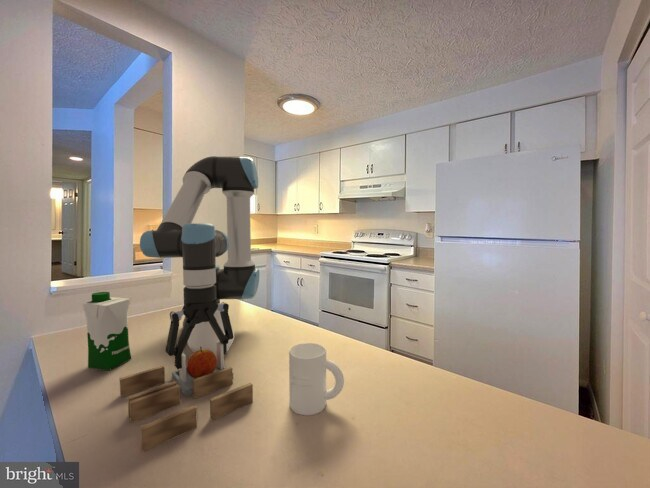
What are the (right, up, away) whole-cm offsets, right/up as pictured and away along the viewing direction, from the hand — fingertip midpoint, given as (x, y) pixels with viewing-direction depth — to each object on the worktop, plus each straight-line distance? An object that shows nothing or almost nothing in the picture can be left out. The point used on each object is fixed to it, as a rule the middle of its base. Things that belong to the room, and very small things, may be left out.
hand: (202, 373), depth 74 cm
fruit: (0, -1, 0) cm, 1 cm away
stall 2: (-1, -2, -17) cm, 17 cm away
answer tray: (0, -1, 0) cm, 1 cm away
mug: (+29, -2, -11) cm, 31 cm away
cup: (-4, -1, +16) cm, 16 cm away
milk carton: (-29, -1, +8) cm, 31 cm away
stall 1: (-9, -2, -8) cm, 12 cm away
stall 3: (+8, -2, -9) cm, 12 cm away
